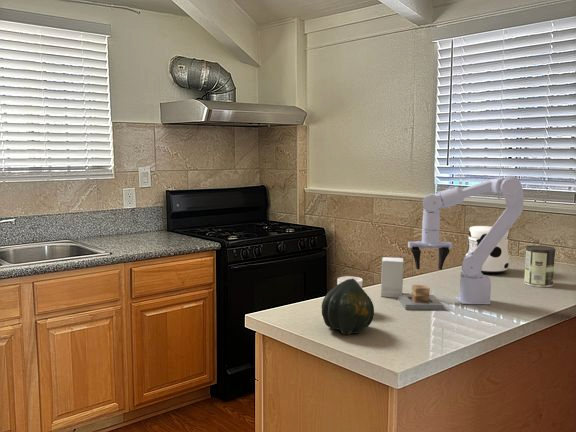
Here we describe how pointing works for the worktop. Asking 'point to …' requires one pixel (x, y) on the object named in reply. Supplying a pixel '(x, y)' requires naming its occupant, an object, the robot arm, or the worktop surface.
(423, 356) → the worktop surface
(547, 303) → the worktop surface
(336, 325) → the squash
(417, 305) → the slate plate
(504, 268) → the milk container
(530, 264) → the coffee can
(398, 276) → the supplement box
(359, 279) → the white cup
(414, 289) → the brown block
